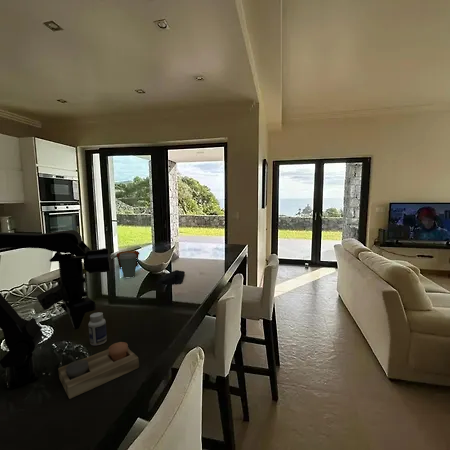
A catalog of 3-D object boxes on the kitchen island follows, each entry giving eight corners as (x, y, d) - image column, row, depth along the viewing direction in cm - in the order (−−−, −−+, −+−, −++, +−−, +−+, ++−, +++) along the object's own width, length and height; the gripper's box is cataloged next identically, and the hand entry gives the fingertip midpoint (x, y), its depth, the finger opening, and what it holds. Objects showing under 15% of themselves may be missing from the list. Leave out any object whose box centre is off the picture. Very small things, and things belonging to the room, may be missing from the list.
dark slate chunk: (188, 274, 178) (188, 267, 178) (180, 285, 156) (180, 277, 156) (165, 275, 179) (165, 267, 179) (154, 285, 157) (153, 277, 157)
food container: (116, 266, 207) (115, 251, 206) (138, 263, 213) (137, 249, 212) (117, 270, 192) (116, 255, 191) (141, 267, 199) (140, 252, 198)
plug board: (59, 378, 76) (58, 368, 76) (123, 352, 88) (123, 343, 88) (69, 399, 68) (68, 387, 68) (139, 367, 80) (138, 357, 80)
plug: (65, 381, 75) (63, 365, 74) (86, 372, 78) (84, 357, 78) (70, 391, 71) (68, 374, 70) (92, 381, 74) (90, 365, 74)
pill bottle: (109, 337, 98) (107, 311, 97) (103, 345, 93) (101, 317, 92) (94, 338, 98) (91, 311, 97) (87, 346, 93) (84, 318, 92)
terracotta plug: (107, 361, 82) (105, 346, 82) (124, 354, 85) (123, 340, 85) (113, 369, 78) (112, 353, 78) (131, 361, 82) (130, 346, 81)
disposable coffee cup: (140, 274, 180) (139, 251, 179) (133, 279, 170) (132, 255, 168) (125, 274, 181) (123, 252, 180) (117, 279, 171) (115, 255, 169)
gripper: (32, 275, 80) (37, 327, 81) (44, 289, 66) (50, 352, 67) (74, 267, 87) (79, 315, 88) (94, 279, 73) (98, 336, 75)
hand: (76, 328), depth 80 cm, fingers closed
